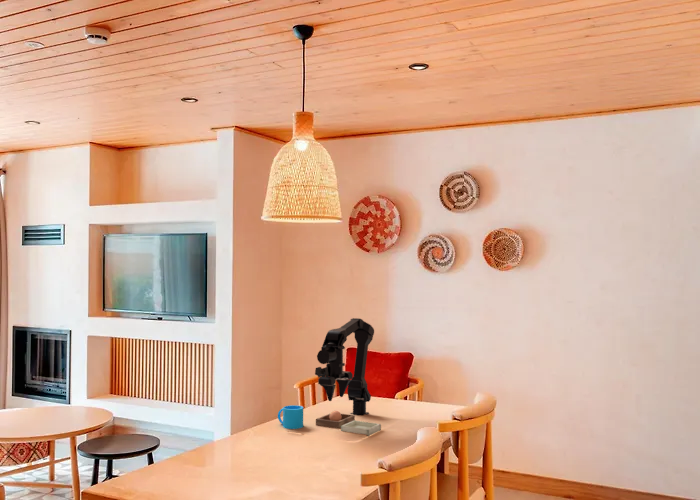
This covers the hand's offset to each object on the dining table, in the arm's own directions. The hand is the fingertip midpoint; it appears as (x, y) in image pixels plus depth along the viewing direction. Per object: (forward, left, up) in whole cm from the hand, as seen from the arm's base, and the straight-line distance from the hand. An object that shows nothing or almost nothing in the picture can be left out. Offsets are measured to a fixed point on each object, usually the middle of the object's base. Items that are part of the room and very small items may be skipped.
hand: (335, 398), depth 254 cm
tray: (+4, +14, -10) cm, 18 cm away
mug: (+13, -14, -11) cm, 22 cm away
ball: (0, 0, -10) cm, 10 cm away
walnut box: (0, 0, -10) cm, 10 cm away
